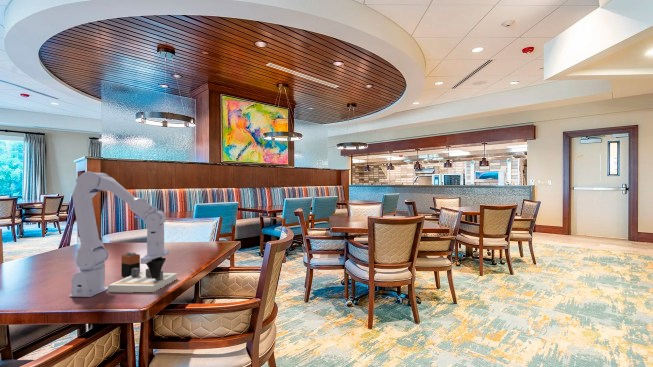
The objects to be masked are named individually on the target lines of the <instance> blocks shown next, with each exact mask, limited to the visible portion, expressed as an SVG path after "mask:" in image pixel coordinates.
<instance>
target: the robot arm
mask: <svg viewBox="0 0 653 367" xmlns="http://www.w3.org/2000/svg"><path fill="white" fill-rule="evenodd" d="M75 182H76V184H75V187H74V188H73V189H74V190H73V191H72V194H71V195H72V198H71V199H72V203H73V207H74V213H75V214H74V215H75V219H76V223H77V224H76V225H77V230H78V235H79V240H80V244H79V245H78V248H77V250H76V253H77V254H76V258H75V264H76V266H77V267H78V268H79V271H77V272H76V273H74V275H72V277H71V294H69V297H75V298H77V297H78V298H79V297H80V298H84V297H86V298H88V297H89V298H90V297H93V296H96V295H98V294H100V293H102V292H105V291H108V286H106V285H105V282H106V278H105V276H106V275H105V274H106V272H105V271H106V268H105V267H106V264H105V263H106V261H107V260H108V258H109V251H108V250H107V249H106V247H105V244H104V242H103V241H102V240H100V235H99V231H98V225H97V220H96V215H95V209H94V204H93V203H94V202H93V199H94V197H95V196H96V195H97V194H98V193H100V192H101V191H106V192H107V191H108V192H110V193H112V194H113V195H115V196H116V197H117V198H119V199H121V200H122V201H123V202H125V203H126V204H128V208H129V210H130V211H131V212H133V213H134V214H135V215H137V216H138V217H139V218H140V219H142V220H144V221H143V222H144V223H145V225H146V227H147V232H146V255H144V256H143V257H142V258H141V257H140V265H146V266H147V269H148V268H149V270H150V273H151V276H152V279H157V278H159V276H160V272H161V271H162V268H163V266H164V264H165V262H166V256H169V255H170V250H169V249H165V222H166V221H167V214H166V213H165V212H164V211H163V210H160V209H159V210H158V207H156V206H153V205H151V204H150V203H149V202H148V199H146V198H143V197H136V196H135V195H133V194H132V192H130V191H128V189H126V188H125V187H124V186H123V185H121V184H120V182H118V181H117V180H115V178H113V177H111V176H110V175H109V174H107V173H105V172H94V171H85V172H83V173H81V174H80V175H79V176H78V177H77V178H76V179H75Z"/></svg>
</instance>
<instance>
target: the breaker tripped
mask: <svg viewBox="0 0 653 367" xmlns="http://www.w3.org/2000/svg"><path fill="white" fill-rule="evenodd" d="M163 273H164V270H161V272H160V276H159V278H157V279H158V280H160V279H162V278H163Z"/></svg>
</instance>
